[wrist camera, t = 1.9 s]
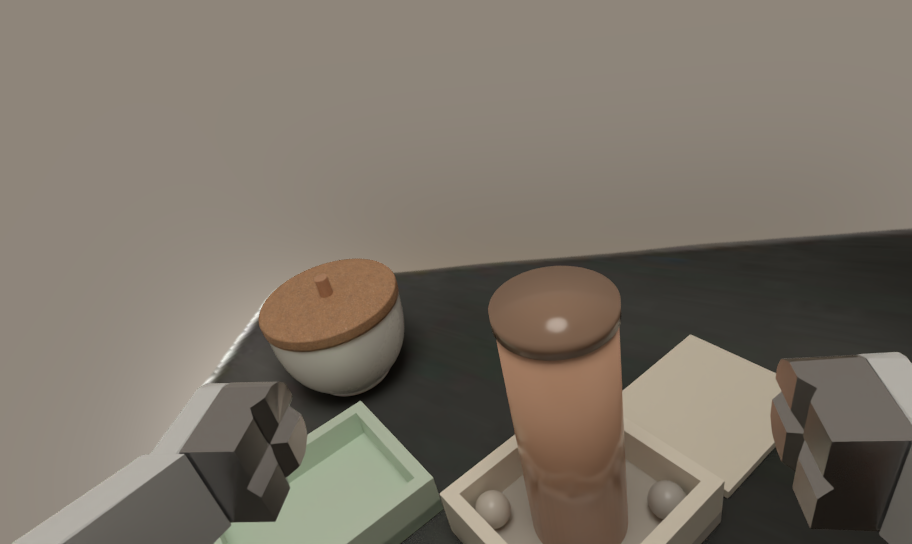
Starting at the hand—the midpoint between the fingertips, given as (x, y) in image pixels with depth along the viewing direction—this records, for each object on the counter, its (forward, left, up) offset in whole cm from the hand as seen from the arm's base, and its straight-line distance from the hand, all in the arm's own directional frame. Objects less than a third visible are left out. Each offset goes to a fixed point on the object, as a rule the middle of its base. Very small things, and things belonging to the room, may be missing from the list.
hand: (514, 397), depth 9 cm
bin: (-14, -9, -23) cm, 28 cm away
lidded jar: (-6, -31, -23) cm, 39 cm away
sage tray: (+2, -20, -23) cm, 30 cm away
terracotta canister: (-9, -9, -22) cm, 25 cm away
